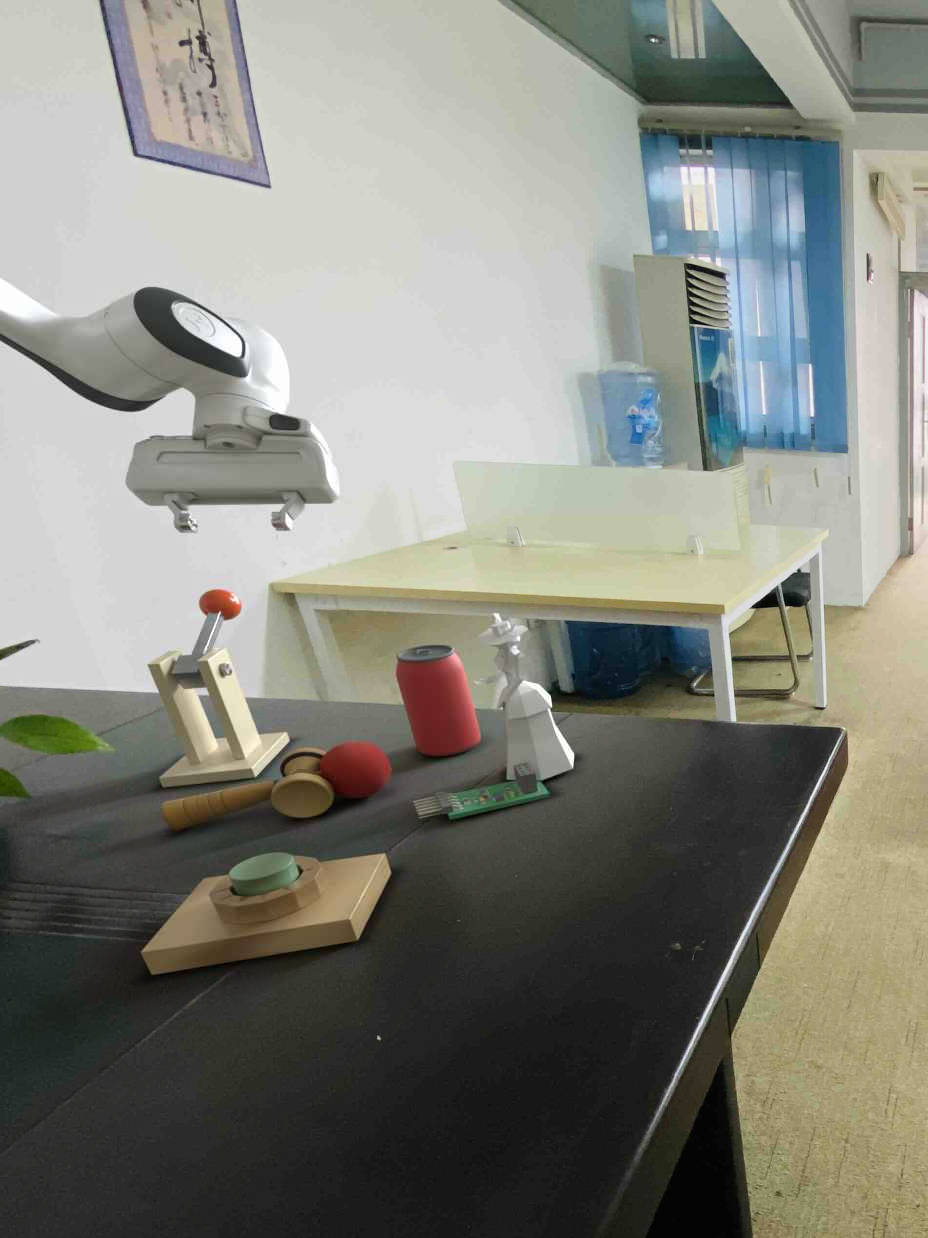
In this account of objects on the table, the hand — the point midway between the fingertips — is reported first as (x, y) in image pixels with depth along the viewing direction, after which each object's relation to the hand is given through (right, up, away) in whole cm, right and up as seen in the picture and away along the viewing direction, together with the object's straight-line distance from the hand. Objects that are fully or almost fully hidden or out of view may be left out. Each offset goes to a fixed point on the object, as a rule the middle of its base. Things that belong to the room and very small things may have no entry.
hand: (234, 529), depth 98 cm
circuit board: (+39, -33, -13) cm, 52 cm away
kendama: (+20, -33, -16) cm, 42 cm away
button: (+33, -37, -33) cm, 60 cm away
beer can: (+27, -27, -1) cm, 38 cm away
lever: (+4, -15, -7) cm, 17 cm away
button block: (+33, -41, -31) cm, 61 cm away
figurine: (+41, -29, -6) cm, 51 cm away
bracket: (+6, -28, -7) cm, 30 cm away
